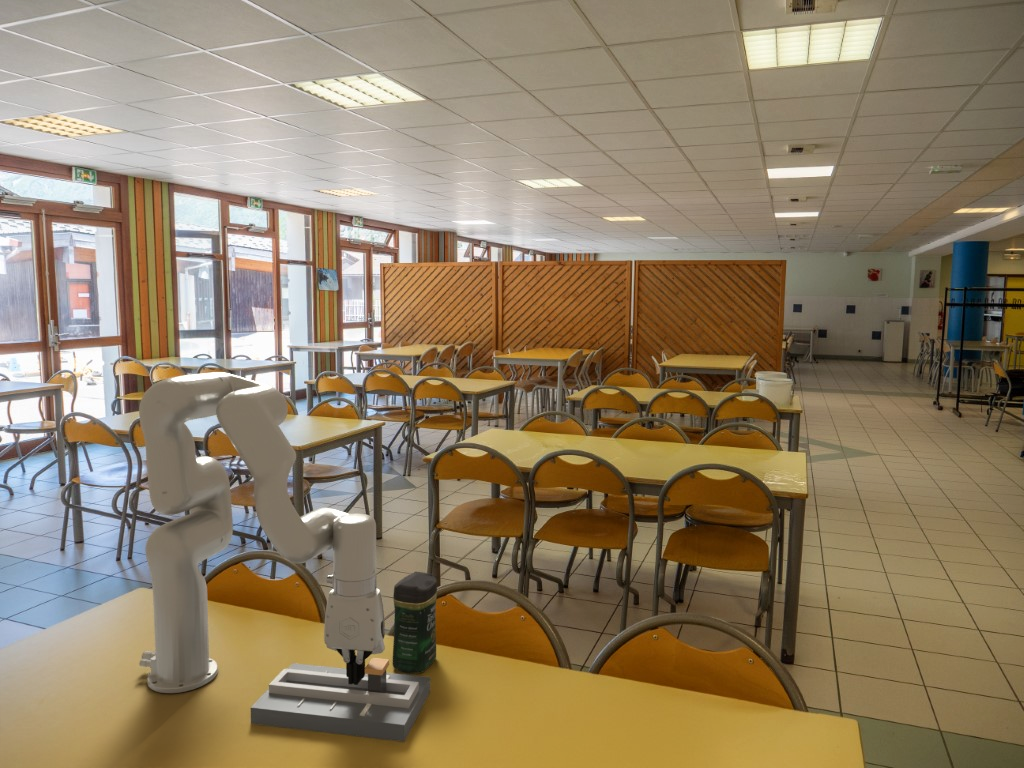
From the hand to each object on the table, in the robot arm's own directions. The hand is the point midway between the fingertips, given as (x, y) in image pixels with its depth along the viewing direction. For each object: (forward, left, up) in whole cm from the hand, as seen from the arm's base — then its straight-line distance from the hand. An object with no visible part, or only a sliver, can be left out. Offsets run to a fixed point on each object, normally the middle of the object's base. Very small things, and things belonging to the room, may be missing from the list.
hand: (355, 680), depth 130 cm
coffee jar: (+6, +18, -6) cm, 20 cm away
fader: (+4, 0, -2) cm, 5 cm away
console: (-2, 0, -5) cm, 6 cm away
